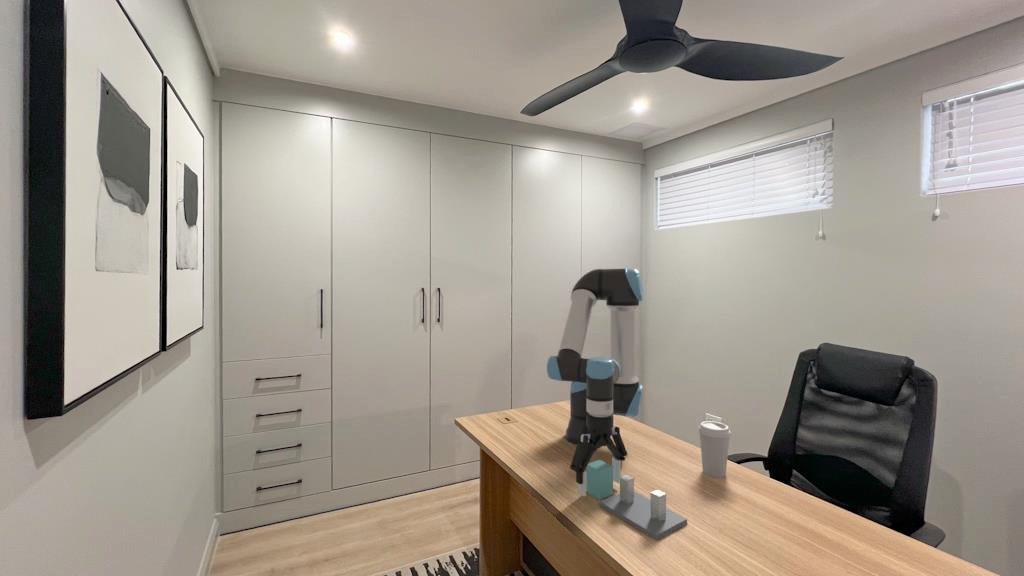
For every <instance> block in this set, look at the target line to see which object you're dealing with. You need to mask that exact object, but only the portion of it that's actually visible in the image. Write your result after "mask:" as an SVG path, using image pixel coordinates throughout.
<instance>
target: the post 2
mask: <svg viewBox="0 0 1024 576" xmlns="http://www.w3.org/2000/svg"><path fill="white" fill-rule="evenodd" d="M650 500H651V505H650V518H651V519H653V520H654V521H656V522H658V523H661V522H663V521H665V520H666V508H667V493H666V492H663V491H661V490H659V489H655V490H653V491H650Z"/></svg>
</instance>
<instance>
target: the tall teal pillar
mask: <svg viewBox="0 0 1024 576" xmlns="http://www.w3.org/2000/svg"><path fill="white" fill-rule="evenodd" d="M586 493H588V494H589V495H590V496H592V497H595V498H596V499H598V500H602V499H603V500H604V499H606V498H607V497H608V498H609V497H610V496H612V495H613V496H614V481H613V466H612V464H609V463H607V462H605V461H603V460H601V459H598V460H594V461H591V462H589V463H588V465H587V467H586Z"/></svg>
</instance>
